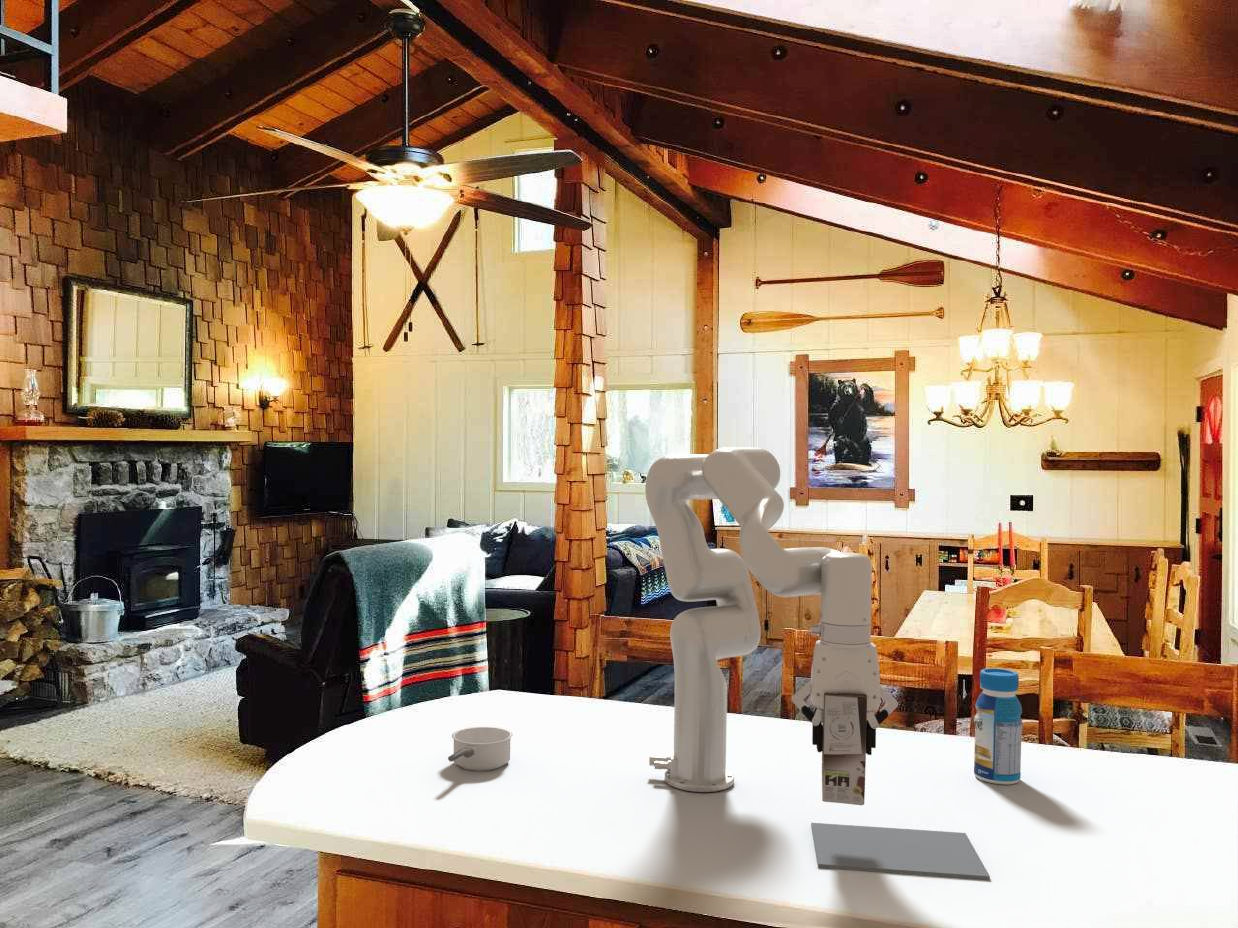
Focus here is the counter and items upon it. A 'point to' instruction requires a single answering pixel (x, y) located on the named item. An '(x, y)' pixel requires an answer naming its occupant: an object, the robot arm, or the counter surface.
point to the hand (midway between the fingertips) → (843, 749)
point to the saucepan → (481, 748)
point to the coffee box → (844, 748)
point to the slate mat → (896, 851)
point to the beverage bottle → (998, 728)
